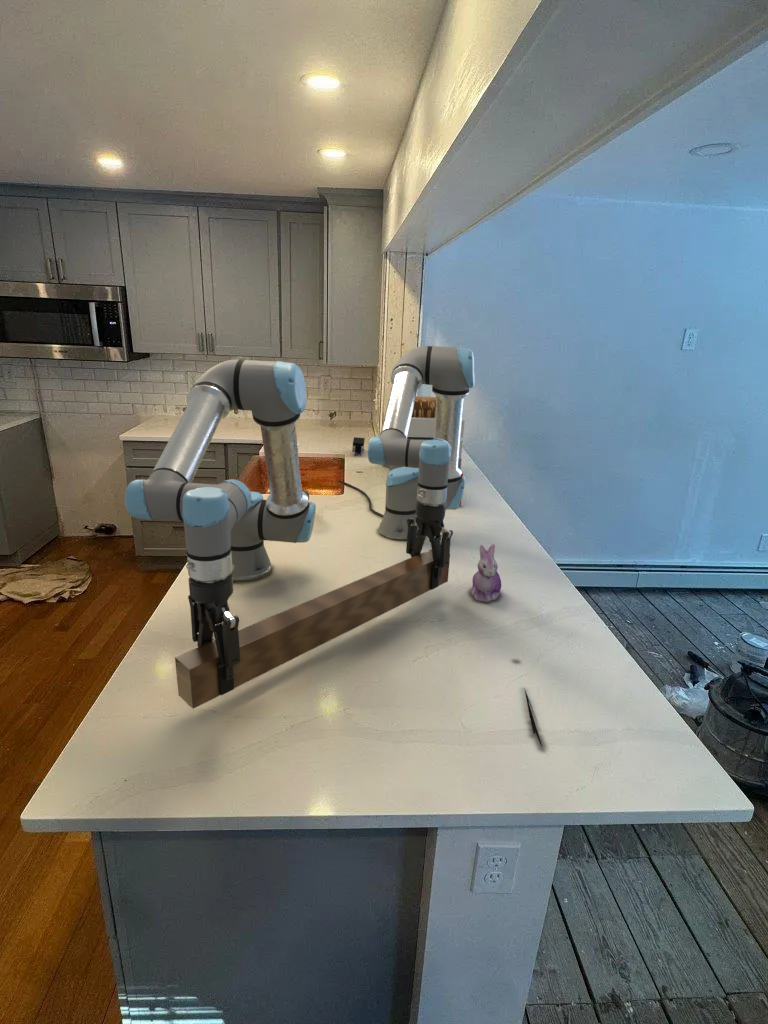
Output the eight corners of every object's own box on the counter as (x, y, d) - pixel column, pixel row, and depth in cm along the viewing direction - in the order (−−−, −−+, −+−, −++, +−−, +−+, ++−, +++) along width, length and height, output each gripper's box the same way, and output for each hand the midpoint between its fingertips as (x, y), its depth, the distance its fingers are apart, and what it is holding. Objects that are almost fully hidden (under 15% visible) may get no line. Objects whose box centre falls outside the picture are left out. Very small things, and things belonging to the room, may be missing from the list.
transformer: (382, 463, 289) (386, 382, 275) (445, 464, 293) (451, 384, 279) (390, 482, 257) (394, 392, 243) (460, 483, 261) (468, 394, 247)
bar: (432, 575, 158) (434, 547, 155) (447, 581, 155) (450, 553, 152) (178, 695, 106) (174, 657, 103) (192, 709, 102) (189, 669, 100)
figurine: (483, 606, 153) (489, 555, 148) (461, 589, 161) (466, 541, 156) (510, 599, 157) (517, 550, 152) (488, 583, 166) (493, 536, 161)
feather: (516, 665, 130) (521, 659, 130) (541, 751, 103) (548, 744, 103) (510, 661, 130) (515, 655, 129) (534, 747, 103) (541, 739, 103)
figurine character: (364, 459, 300) (364, 449, 314) (364, 445, 297) (365, 436, 311) (351, 458, 300) (352, 449, 314) (351, 445, 297) (352, 435, 310)
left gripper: (165, 564, 104) (176, 671, 112) (219, 600, 92) (227, 716, 100) (202, 553, 109) (210, 656, 117) (258, 585, 97) (262, 697, 105)
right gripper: (394, 496, 147) (390, 576, 155) (451, 514, 136) (443, 600, 143) (413, 490, 152) (408, 568, 160) (469, 508, 141) (461, 591, 149)
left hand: (218, 683), depth 109 cm, fingers closed on bar, 5 cm apart
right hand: (425, 583), depth 152 cm, fingers closed on bar, 5 cm apart
